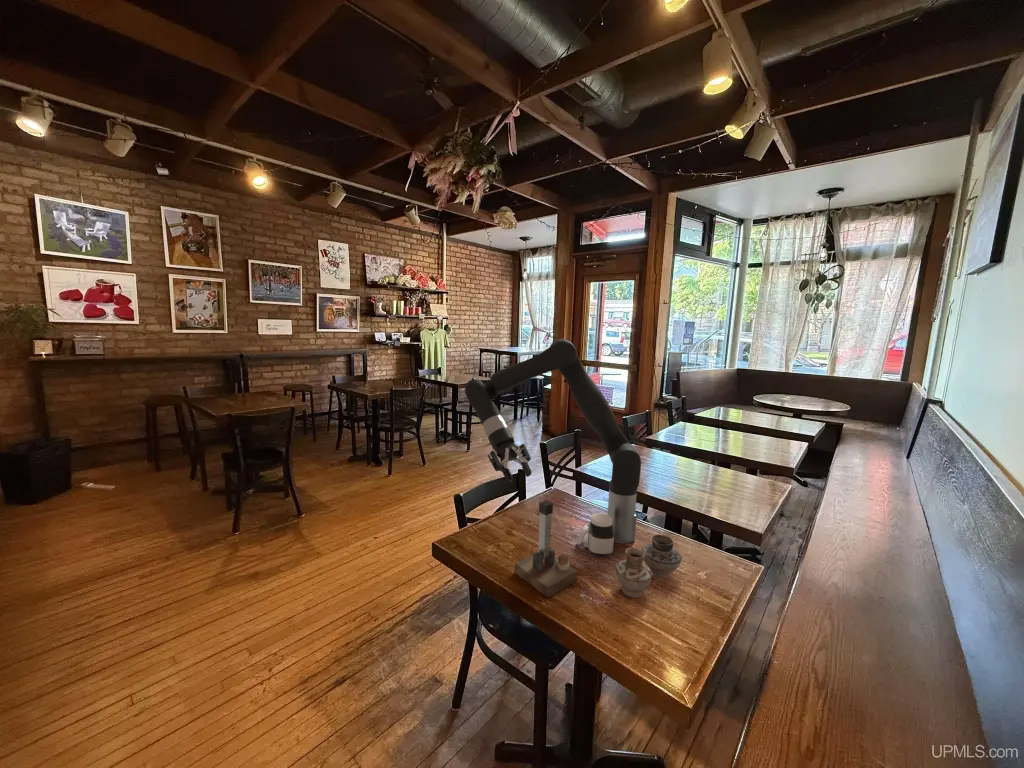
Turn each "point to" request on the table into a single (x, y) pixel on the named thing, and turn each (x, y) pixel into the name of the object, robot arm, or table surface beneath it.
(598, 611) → the table surface
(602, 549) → the spread jar
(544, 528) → the lever
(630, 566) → the pottery
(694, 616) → the table surface
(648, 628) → the table surface
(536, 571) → the press base
